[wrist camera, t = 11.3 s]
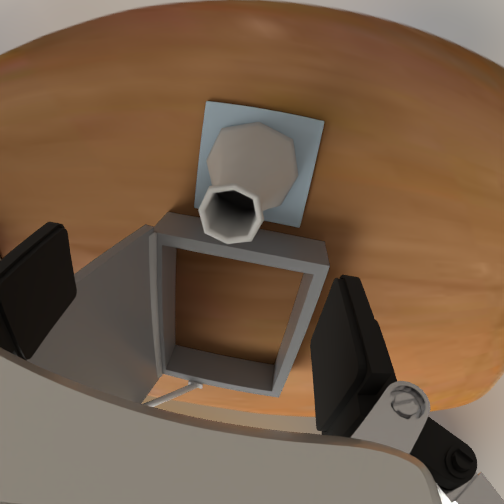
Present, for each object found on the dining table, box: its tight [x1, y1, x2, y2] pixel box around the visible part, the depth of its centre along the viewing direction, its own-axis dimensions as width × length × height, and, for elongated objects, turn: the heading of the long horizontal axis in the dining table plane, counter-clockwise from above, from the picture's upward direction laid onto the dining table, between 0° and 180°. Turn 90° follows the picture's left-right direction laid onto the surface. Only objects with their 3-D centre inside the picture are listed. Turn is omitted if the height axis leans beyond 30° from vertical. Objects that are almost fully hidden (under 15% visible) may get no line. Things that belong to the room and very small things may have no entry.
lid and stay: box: [27, 225, 203, 407], centre depth 22 cm, size 9×19×15 cm, turn 171°
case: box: [149, 212, 330, 397], centre depth 29 cm, size 15×18×5 cm
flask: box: [199, 122, 298, 244], centre depth 19 cm, size 7×7×10 cm
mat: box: [194, 101, 324, 228], centre depth 23 cm, size 9×9×1 cm
